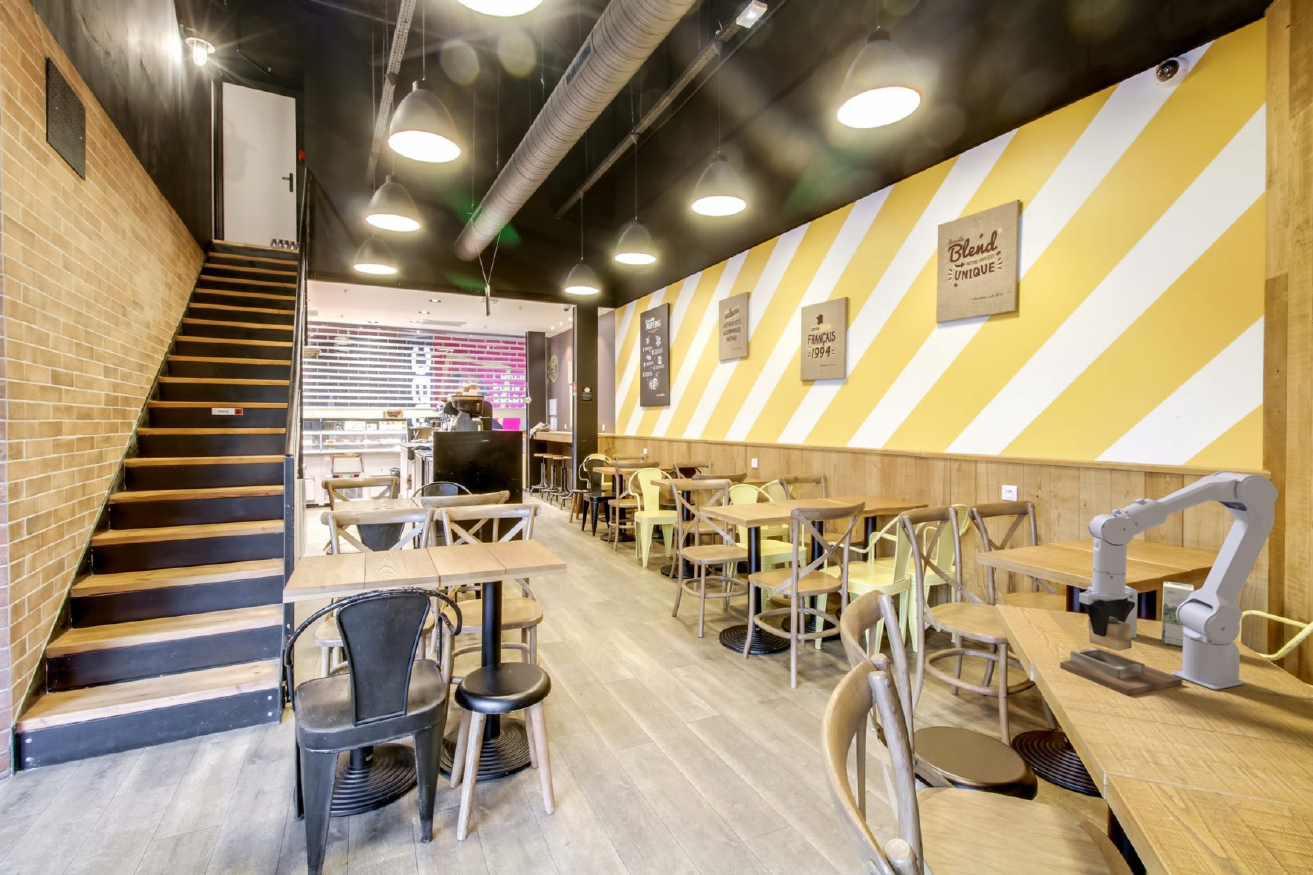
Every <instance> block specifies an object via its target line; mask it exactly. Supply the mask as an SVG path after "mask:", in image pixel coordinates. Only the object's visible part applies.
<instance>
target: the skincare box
mask: <svg viewBox="0 0 1313 875" xmlns="http://www.w3.org/2000/svg"><path fill="white" fill-rule="evenodd" d="M1125 588H1131V589H1133V588H1132V587H1130V586H1128V585H1126V586H1125ZM1137 596H1138V590H1137ZM1128 601H1132V602H1134V603H1135V607H1134V608H1133V609H1132V611H1131V612H1130V613H1129V615H1128V617H1127V619H1126V621H1125V623H1128V624H1130V626H1131V639H1135V638H1137V630H1138V628H1137V625H1138V622H1137V621H1138V597H1137V598H1136V599H1131V598H1128Z"/></svg>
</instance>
